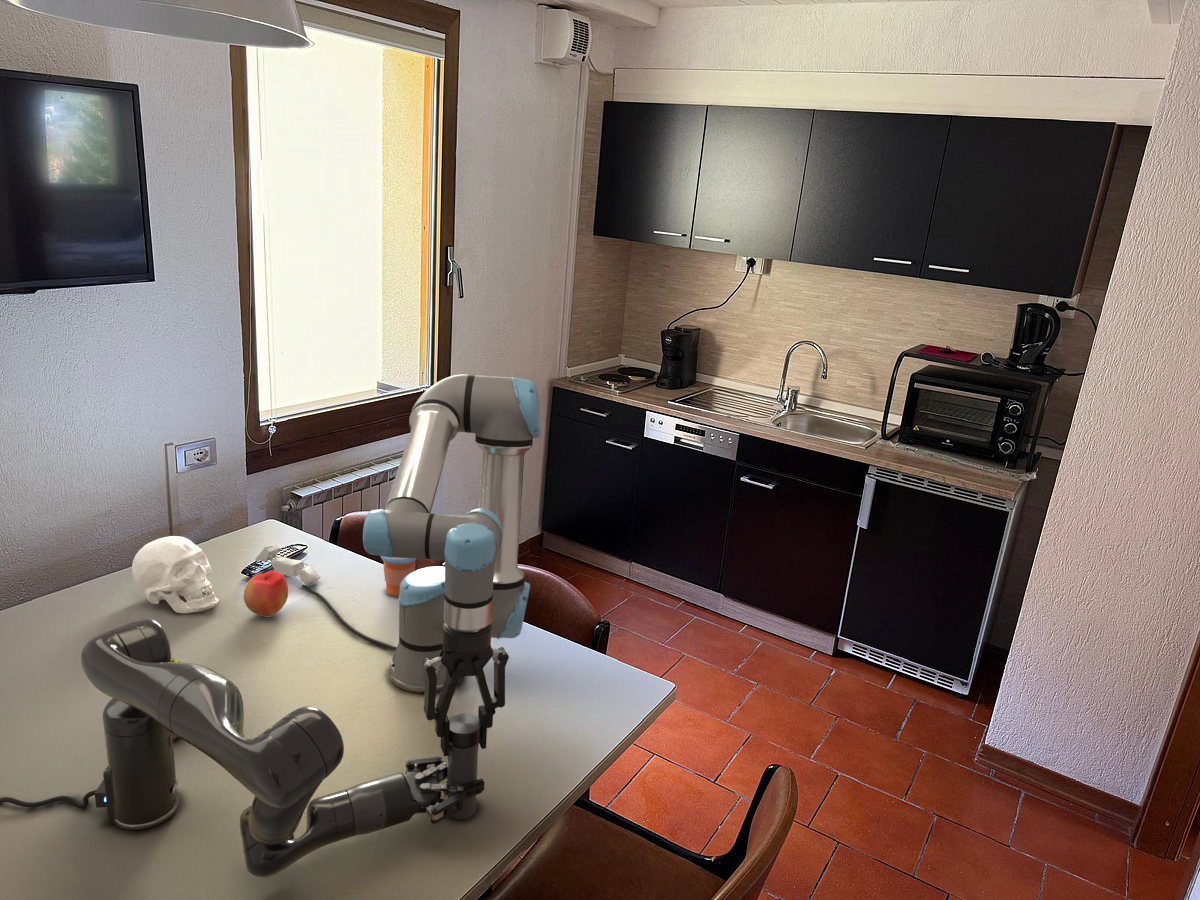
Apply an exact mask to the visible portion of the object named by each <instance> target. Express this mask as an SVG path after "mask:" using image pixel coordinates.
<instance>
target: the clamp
mask: <svg viewBox="0 0 1200 900" xmlns="http://www.w3.org/2000/svg"><path fill="white" fill-rule="evenodd" d="M280 549H281V547H279V546H278V545H277V544H272V545H266V546H264V547H263V549H262V550H261V551H260V552H259V554H258V555H257V556H256V557H255V559H254V562H255V563H256V561H259V560H262V561H268V560H271V562H270V563H269V564H271V565H272V566H273V568H274V571H275V572H278V573H281V574H282V575H283V576H288V577H292V578H296V577H298V578H299V579H300V580H301V582H303V584H304V585H306V586H308V587H309V586H312V585H314V584H316V583H318V582H319V580H320V579H321V578H322V577H321V575H320V574H319V573H318V572H317V570H315V569H314V568H313V566H312V565H310V564H309V565H308V564H307V563H305V562H304V561H303V560H301V559H300V560H299V559H292V558H289V557H285V556H278V553H279V551H280ZM273 558H274V559H273ZM272 559H273V560H272ZM305 566H306V567H305ZM270 571H271V570H270Z"/></svg>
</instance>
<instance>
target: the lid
mask: <svg viewBox="0 0 1200 900" xmlns="http://www.w3.org/2000/svg"><path fill="white" fill-rule="evenodd" d="M449 720H450V735H449V742H450V743H451V744H453V745H456V746H470V745H473V744H475V743H476V742H478V741H479V739H480V737H481V721H480V719H479V718H478V715H475V714H472V713H465V712H464V713H457V714H454V715H452V716H451V717H449Z"/></svg>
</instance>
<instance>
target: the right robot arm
mask: <svg viewBox="0 0 1200 900" xmlns="http://www.w3.org/2000/svg"><path fill="white" fill-rule="evenodd" d="M408 419H409V420H408V424H409V429H410V433H409V434H408V438H407V441H406V444H405V447H404V450H403V453H402V456H401V459H400V461H399V465H398V468H397V471H396V473H395V477H394V480H393V483H392V485H391V488H390V492H389V495H388V498H387V501H386V504H385V507H384V509H383V508H380V509H371V510H370V511H369V512H368V513H367V515H366V516H365V517H364V518H365V519H364V522H363V528H362V544H363V549H364V551H365V552H366V553H367V554H368V555H372V556H378V557H381V556H384V557H389V558H391V557H397V558H417V559H416V560H418V559H420V560H431V561H444V565H443V566H441V565H435V566H433V565H432V566H426V567H422V568H419V569H415V571H414V572H412V573H410V574H408V575H407V576H406V577H405V578H404V579H403V580H402V582H401V585H400V594H399V596H398V598H397V601H398V643H397V645H396V646H394V645H390V644H387V643H385V642H382V641H380V640H376V639H374V638H371V637H369V636H367V635H365V634H364V633H361V632H360V631H358V630H357V629H356V628H354V627H352V626H351V625H350V623H347V621H345V620H344V618H342V616H341V615H340V614H339V613H338V611H337V610H336V609H335V608H334V607H333V606H332V604H331V603H330V602H329V600H328V599H326V598H325V597H324V596H323V595H321V594H320V593H319V592H318V591H316V590H315V589H313V588H311V587H309V586H306V585H305V584H304V583H303V584H302V585H301V587H302V589H304V590H305V591H308V592H309V593H311V594H313V595H314V596H316V597H317V598H318V599H319V600H320V601H321V602H323V603H324V604H325V606H326V607H327V608H328V610H330V612H331V613H332V614H333V615H334V616H335V618H336V619H337V620H338V621H339V622H340V624H342V625H343V626H344V628H346V629H348V631H349V632H351V633H352V634H354V635H356V636H357V637H359V638H361V639H362V640H364V641H367V642H369V643H371V644H374V645H376V646H379V647H382V648H385V649H387V650H391V651H394V653H393V656H392V659H391V660H390V666H389V679H390V681H391V682H392V683H393V684H394V685H395V686H396V687H398V688H399V689H401V690H404V691H407V692H410V693H416V694H424V695H423V696H424V697H423V713H424V715H425V718H426V720H427V721H433V720H434V732H435V734H436V736H437V738H440V744H439V745H440V747H439V748H440V749H441V752H442V754H443V757H448V756H449V735H450V720H449V719H450V717H449V716H448V712H449V710H450V706H451V704H452V700H453V697H454V694H455V691H456V690H457V689H456V688H457V686H458V685H459V684H460V681H461V679H463V678H465V677H475V681H476V684H477V687H478V691H479V695H480V697H481V700H482V705H481V704H480V705H478V708H477V711H478V713H477V717H478V718H479V719H480V721H481V737H480V739H479V743H478V745H479V746H480V749H481V750H486V749H487V739H488V738H487V736H488V729H490V728H492V727H493V725H494V723H493V722H494V715H495V714H496V711H497V710H496V709H499V708H500V709H502V708H504V707H505V705H506V667H507V663H508V661H509V659H510V657H509V654H508V652H507V651H506V649H505V648H504V646H500V647H498V648H493V647H492V639H497V640H501V639H515V638H517V637H518V636H520V635H521V633H522V630H523V625H524V619H525V614H526V610H527V605H528V600H529V595H530V591H531V584H530V582H527V581H525V574H524V572H523V571H522V570H521V569H520V568H519V565H518V563H519V546H520V533H521V532H520V531H521V516H522V500H523V499H522V498H523V483H524V467H525V454H526V453H527V452H528V451H529V450H531V448H533V444H534V439H537V438H540V437H541V408H540V396H539V389H538V387H537V384H536V382H534V381H533V380H530V379H526V378H520V377H519V378H518V377H514V376H513V377H511V376H509V377H508V376H489V375H474V374H473V375H472V374H467V373H466V374H465V373H463V374H455V375H451V376H448V377H445V378H443V379H441V380H439V381H437V382H436V383H434V384H433V385H431V386H430V387H428V388H427V389H425V391H424V392H423V393H422V394H421V395H420V397H419V398H418V399H417V400H416V402H415V403H414V405H413V407H412V410H411V412H410V415H409V418H408ZM458 433H467V434H475V436H474V437H475V438H474V441H475V442H474V443H475V444H476V446H477V447H478V448H479V449H480V451H481V465H480V482H479V502H478V508H474V509H471V510H469V511H467V512H466V513H465V514H464V515H459V514H458V515H457V514H440V513H431V512H432V509H433V506H434V501H435V498H436V495H437V490H438V487H439V483H440V479H441V476H442V473H443V468H444V466H445V462H446V457H447V453H448V450H449V446H450V442H451V441H452V440H454V439H455V437H456V436H457V435H458ZM491 659H492V662H493V697H492V696H491V692H490V689H489V685H488V682H487V677H486V674H485V670H484V668H485V667H486V666H487V664H488V663H489V661H491ZM438 692H440V693H439V696H438V699H437V702H436V698H437V693H438Z"/></svg>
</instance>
